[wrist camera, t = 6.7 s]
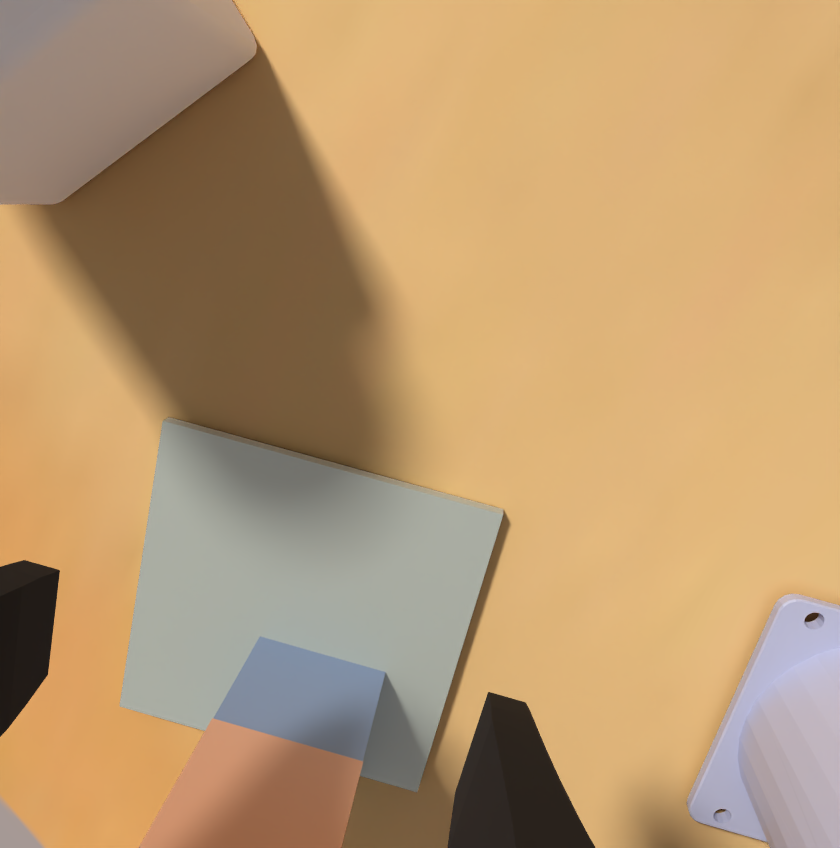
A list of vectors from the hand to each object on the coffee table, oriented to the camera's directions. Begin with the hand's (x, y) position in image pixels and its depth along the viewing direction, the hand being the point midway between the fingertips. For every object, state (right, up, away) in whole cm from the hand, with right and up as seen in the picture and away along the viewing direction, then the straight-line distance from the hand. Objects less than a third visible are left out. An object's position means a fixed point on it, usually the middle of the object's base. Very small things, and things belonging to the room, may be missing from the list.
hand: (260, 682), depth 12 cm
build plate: (-1, -2, +11) cm, 11 cm away
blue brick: (-1, -5, +11) cm, 12 cm away
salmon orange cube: (-1, -6, +8) cm, 10 cm away
